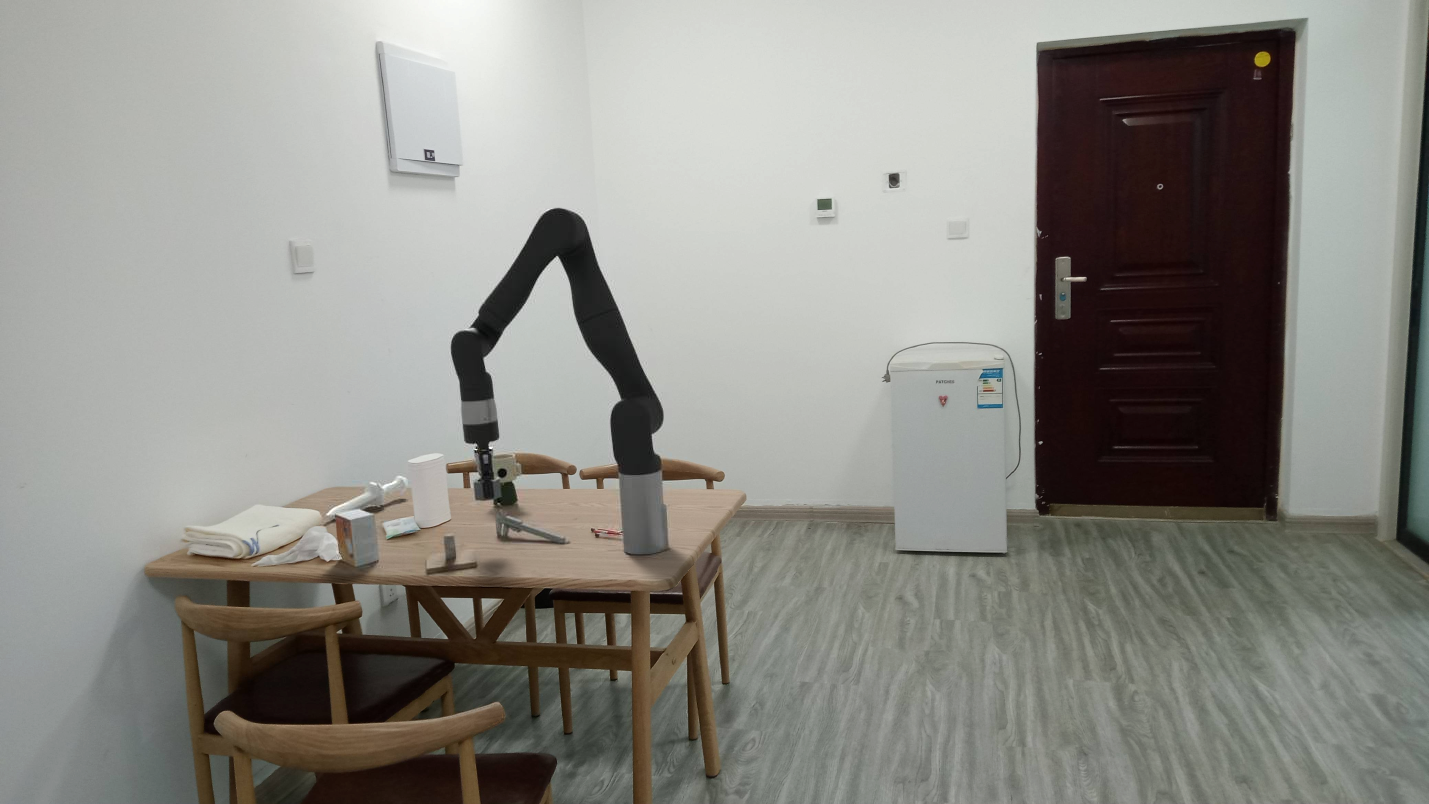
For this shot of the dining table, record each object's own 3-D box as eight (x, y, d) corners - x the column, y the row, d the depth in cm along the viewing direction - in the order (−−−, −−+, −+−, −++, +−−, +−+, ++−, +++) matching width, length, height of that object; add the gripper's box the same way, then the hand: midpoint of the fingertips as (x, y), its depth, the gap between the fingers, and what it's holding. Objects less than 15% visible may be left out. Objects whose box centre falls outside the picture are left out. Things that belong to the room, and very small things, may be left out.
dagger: (334, 520, 233) (419, 478, 255) (318, 503, 233) (405, 462, 256) (325, 538, 237) (409, 495, 260) (310, 520, 238) (395, 479, 260)
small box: (339, 560, 204) (333, 513, 203) (364, 553, 208) (358, 507, 207) (354, 567, 199) (349, 519, 197) (380, 560, 202) (374, 513, 201)
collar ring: (500, 492, 210) (498, 475, 209) (502, 498, 205) (500, 480, 204) (474, 496, 208) (472, 478, 208) (476, 501, 203) (474, 483, 202)
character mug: (480, 507, 243) (475, 458, 241) (495, 500, 249) (491, 453, 248) (516, 509, 239) (512, 460, 237) (531, 502, 246) (527, 454, 244)
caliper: (496, 536, 217) (494, 510, 216) (499, 534, 218) (497, 508, 217) (567, 545, 208) (565, 517, 207) (570, 543, 209) (568, 516, 208)
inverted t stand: (474, 552, 205) (472, 526, 204) (477, 566, 195) (474, 538, 194) (426, 559, 202) (424, 532, 201) (427, 573, 192) (424, 545, 191)
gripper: (500, 422, 198) (508, 499, 201) (494, 413, 212) (502, 486, 214) (463, 426, 196) (472, 504, 199) (460, 417, 210) (468, 490, 212)
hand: (488, 494), depth 206 cm, fingers closed on collar ring, 5 cm apart
